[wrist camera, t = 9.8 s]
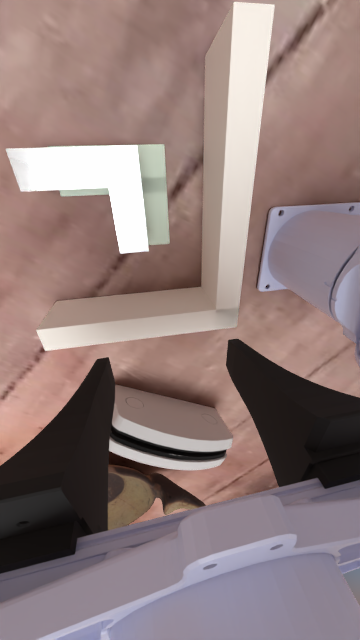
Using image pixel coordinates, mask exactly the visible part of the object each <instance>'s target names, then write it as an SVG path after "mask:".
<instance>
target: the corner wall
mask: <svg viewBox="0 0 360 640" xmlns="http://www.w3.org/2000/svg"><path fill="white" fill-rule="evenodd" d="M274 6H275V5H272V4H257V3H241V2H234V3H233V4H232V6H231V8H230V10H229V12H228V14H227V16H226V18H225V20H224V21H223V23H222V25H221V27H220V29H219V31H218V33H217V35H216V37H215V38H214V40H213V42H212V44H211V46H210V48H209V50H208V52H207V53H206V55H205V95H204V154H203V212H202V271H201V287H193V288H183V289H173V290H163V291H153V292H143V293H132V294H122V295H112V296H102V297H92V298H82V299H72V300H61V301H56V302H55V304H54V305H53V306H52V308H51V309H50V311H49V312H48V314H47V315H46V316H45V318H44V319H43V321H42V322H41V324H40V325H39V327H38V328H37V329H36V331H37V333H38V335H39V338H40V340H41V342H42V344H43V347H44V349H45V351H48V350H56V349H64V348H72V347H81V346H89V345H97V344H105V343H113V342H121V341H129V340H137V339H145V338H153V337H161V336H169V335H177V334H185V333H193V332H201V331H209V330H217V329H225V328H233V327H237V321H238V312H239V304H240V295H241V287H242V278H243V270H244V261H245V253H246V244H247V236H248V227H249V219H250V210H251V202H252V193H253V185H254V176H255V168H256V159H257V151H258V142H259V134H260V125H261V117H262V108H263V100H264V91H265V83H266V74H267V66H268V57H269V49H270V40H271V32H272V23H273V15H274Z"/></svg>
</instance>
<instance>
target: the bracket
mask: <svg viewBox="0 0 360 640" xmlns="http://www.w3.org/2000/svg"><path fill="white" fill-rule="evenodd" d="M6 151H7V154H8V157H9V160H10V162H11V165H12V168H13V171H14V174H15V176H16V179H17V182H18V185H19V188H20V190H21V192H22V191H44V190H65V189H87V188H109V193H110V198H111V204H112V210H113V215H114V221H115V227H116V232H117V238H118V244H119V249H120V253H132V252H144V251H149V249H148V240H147V231H146V222H145V213H144V204H143V195H142V186H141V177H140V168H139V159H138V150H137V145H136V146H95V147H54V148H12V149H6Z"/></svg>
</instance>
